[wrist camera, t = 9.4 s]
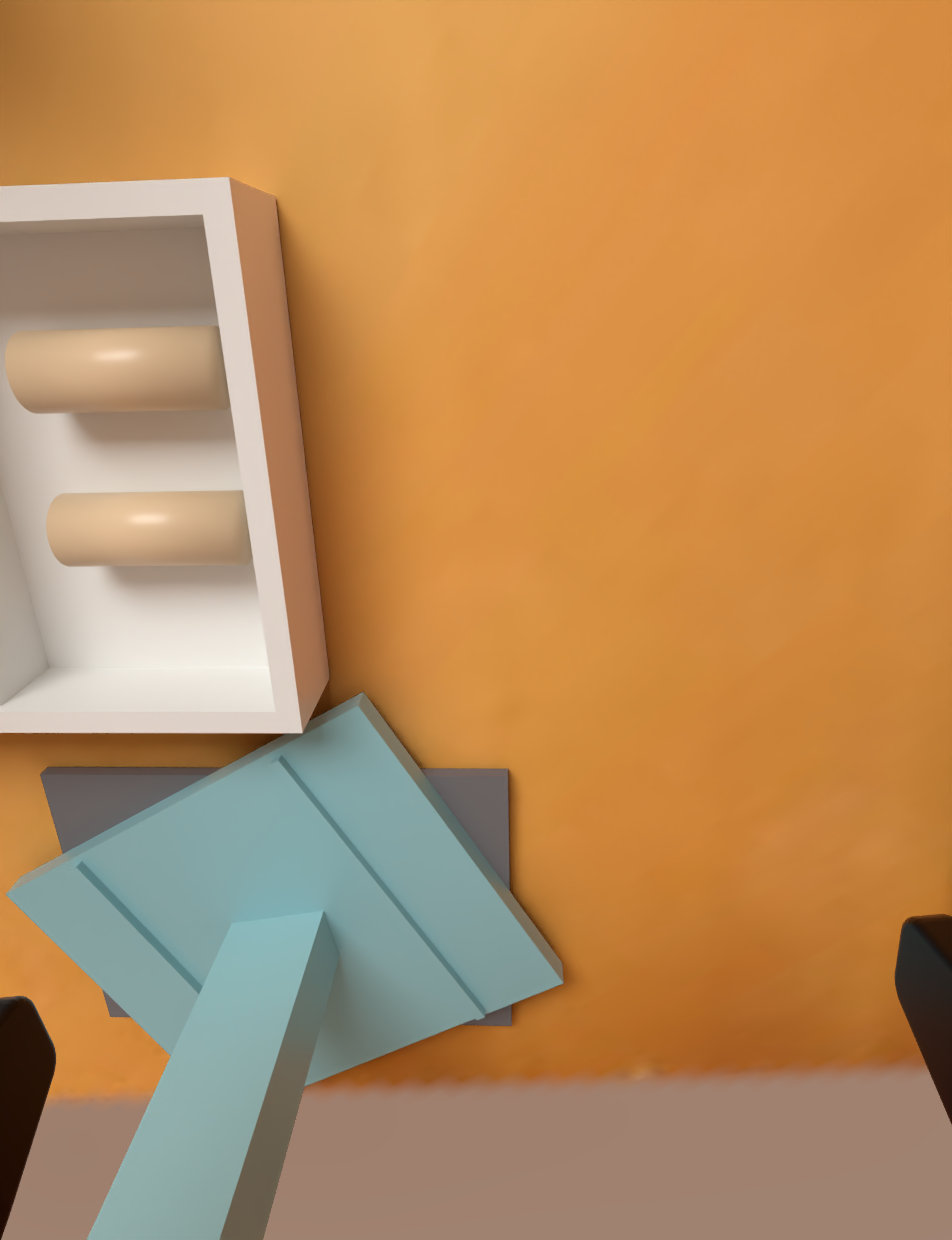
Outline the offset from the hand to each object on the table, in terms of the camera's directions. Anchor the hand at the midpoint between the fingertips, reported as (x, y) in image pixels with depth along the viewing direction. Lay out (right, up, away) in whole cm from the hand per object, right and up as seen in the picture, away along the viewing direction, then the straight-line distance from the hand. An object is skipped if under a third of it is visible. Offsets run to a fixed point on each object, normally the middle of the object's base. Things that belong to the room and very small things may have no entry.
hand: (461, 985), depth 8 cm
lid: (-6, -6, +17) cm, 19 cm away
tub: (-11, +8, +12) cm, 18 cm away
